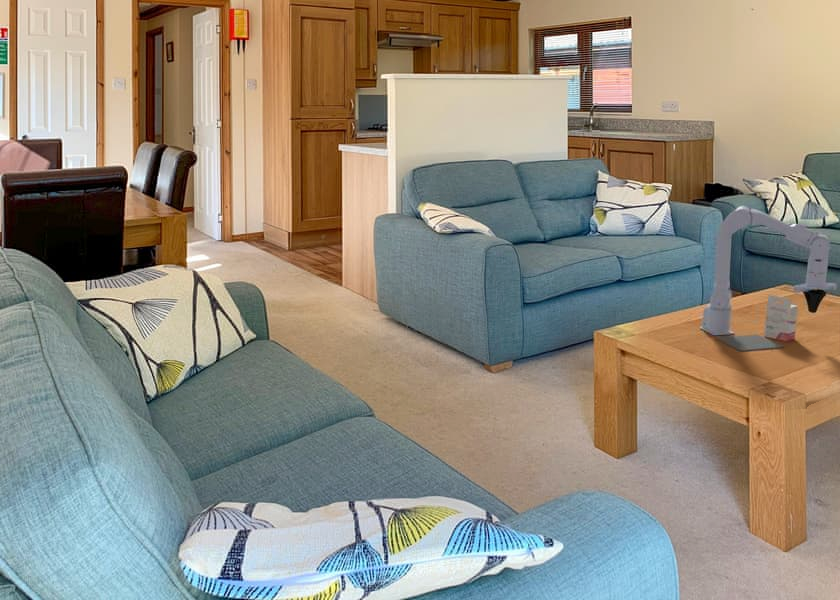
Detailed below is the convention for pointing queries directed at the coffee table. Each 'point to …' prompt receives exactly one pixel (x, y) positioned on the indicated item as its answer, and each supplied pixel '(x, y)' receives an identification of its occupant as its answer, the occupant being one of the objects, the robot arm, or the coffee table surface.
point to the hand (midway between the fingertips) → (812, 312)
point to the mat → (750, 342)
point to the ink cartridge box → (780, 319)
